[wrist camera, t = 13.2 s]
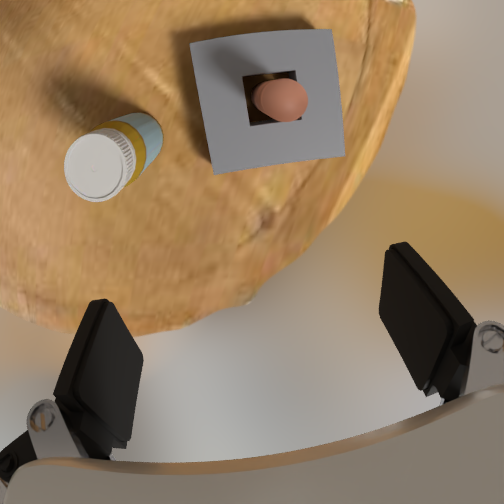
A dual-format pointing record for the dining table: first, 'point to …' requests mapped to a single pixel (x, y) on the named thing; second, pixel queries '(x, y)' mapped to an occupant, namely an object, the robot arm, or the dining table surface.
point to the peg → (280, 99)
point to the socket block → (270, 131)
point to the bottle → (112, 155)
